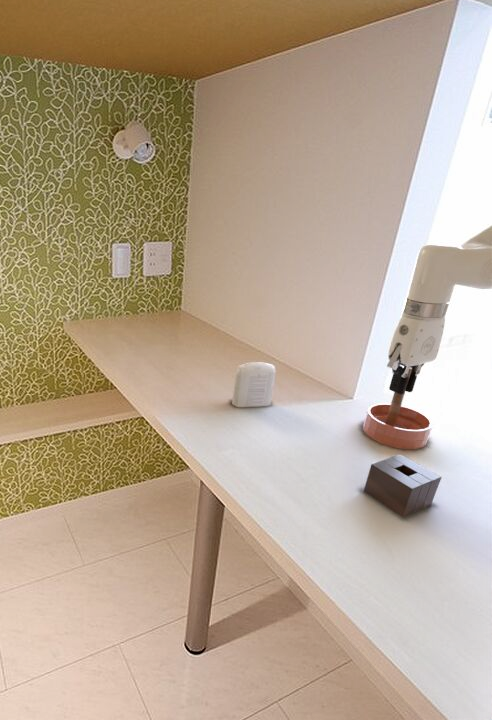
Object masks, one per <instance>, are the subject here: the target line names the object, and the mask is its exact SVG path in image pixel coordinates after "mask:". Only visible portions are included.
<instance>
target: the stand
mask: <svg viewBox="0 0 492 720" xmlns="http://www.w3.org/2000/svg"><path fill="white" fill-rule="evenodd" d="M441 481H442V476H441V475H439V474H437V473H435V472H434V471H432V470H430V469H428V468H427V467H425V466H423V465H421V464H420V463H417V462H415V461H414V460H412V459H410V458H408V457H406V456H405V455H403V454H401V453H399V454H396V455H393V456H391V457H388V458H385V459H382V460H380V461H377V462H374V463H371V465H370V468H369V472H368V475H367V477H366V481H365V485H364V488H363V492H364V493H365V494H367V495H369V496H370V497H371V498H373V499H374V500H376V501H377V502H378V503H381V504H382V505H383V506H385V507H387V508H388V509H389V510H391V511H392V512H394V513H395V514H397V515H398V516H399V517H401V518H405V517H407V516H410V515H411V514H413V513H415V512H417V511H420V510H423V509H425V508H426V507H427V508H428V507H429V506H432V504H433V501H434V499H435V496H436V494H437V490H438V488H439V485H440V483H441Z"/></svg>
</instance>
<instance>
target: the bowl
mask: <svg viewBox="0 0 492 720" xmlns="http://www.w3.org/2000/svg"><path fill="white" fill-rule="evenodd" d="M390 405H391V403H375V404H372V405H370V406H369V407H368V408H367V409H366V413H365V417H364V421H363V424H362V430H363V432H364V434H365V435H366V436H368V437H369V438H370V439H372V440H373V441H375V442H377V443H380V444H382V445H385V446H387V447H391V448H395V449H400V450H418V449H422V448H423V447H426V445H427V443H428V441H429V437H430V436H431V432H432V429H433V426H434V422H433V420H432V419H431V418H430V417H429V416H428V415H426V414H425V413H423V412H421V411H419V410H417V409H415V408H413V407H409V406H405V405H401V408H400V411H399V414H398V418H397V421H396V424H395V427H393V426H390V425H387V424H385V423H386V419H387V416H388V412H389V409H390Z"/></svg>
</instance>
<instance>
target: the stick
mask: <svg viewBox="0 0 492 720" xmlns="http://www.w3.org/2000/svg"><path fill="white" fill-rule="evenodd" d="M401 366H402V365H401ZM402 367H403V368H404V366H402ZM411 371H412V368H411V367H410V368H409V372H408V375H407V377H408V381H409V378H410V374H411ZM407 384H408V382H407ZM406 388H407V385H406ZM406 388H405V392H404V394H402V395H401V394H398V393H396V392H394V391H393V395H392V399H391V402H390V404H391V405H390V409H389V412H388V416H387V419H386V423H385V424H387V425H390V426H393V427H396V425H395V424H396V421H397V418H398V414H399V411H400V408H401V406H402V404H403V401H404V397H405V394H406V392H407V391H406Z"/></svg>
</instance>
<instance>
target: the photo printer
mask: <svg viewBox="0 0 492 720" xmlns="http://www.w3.org/2000/svg"><path fill="white" fill-rule="evenodd" d="M275 379H276V366H275V365H274V364H271V363H269V362H265V361H264V362H263V361H251V362H246V363H242V364H239V365H238V366H236V369H235V376H234V385H233V391H232V392H233V393H232V400H231V401H232V402H231V403H232V404H231V405H232V406H234V407H236V408H256V407H258V408H259V407H270V406H271V403H272V397H273V392H274V386H275V381H276V380H275Z"/></svg>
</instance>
